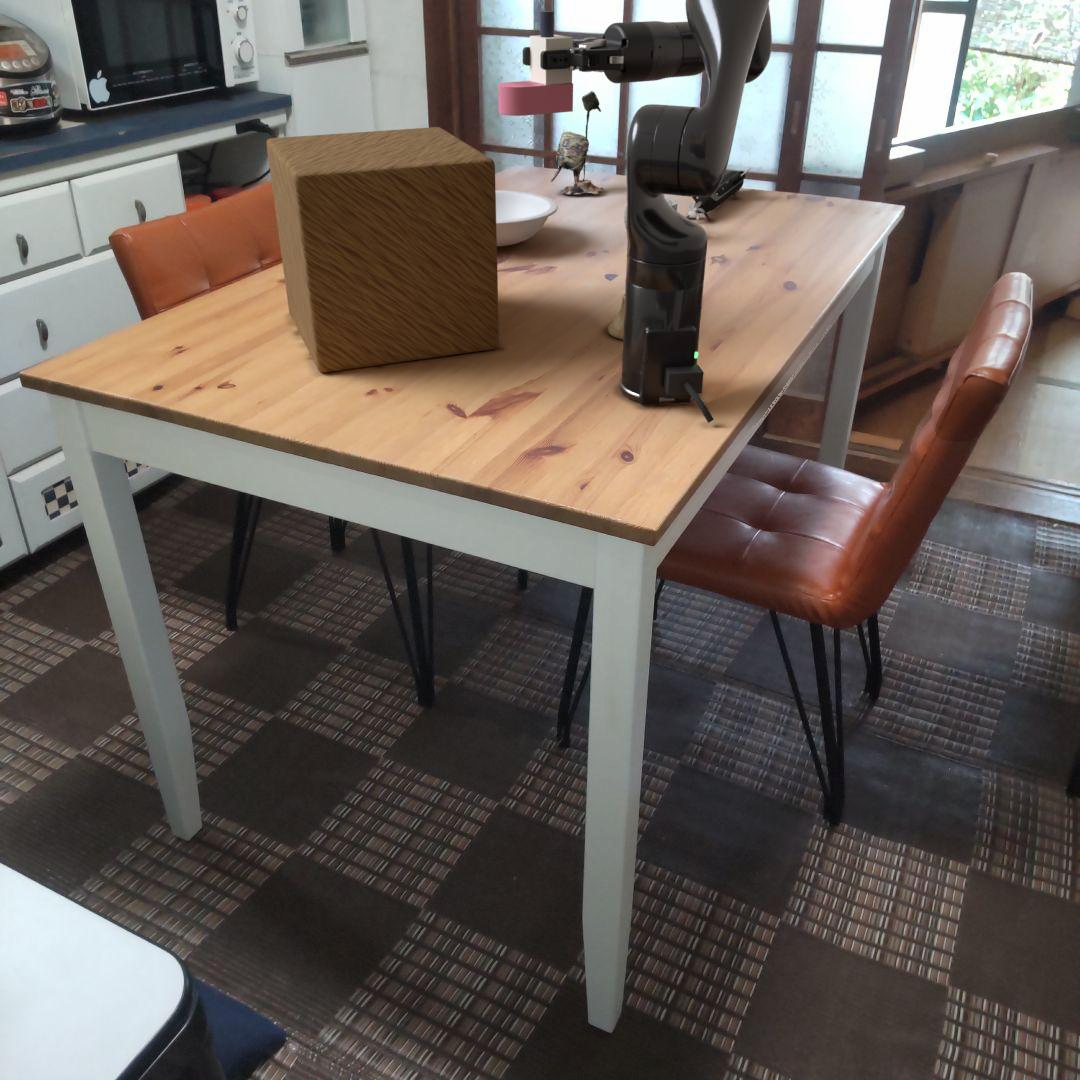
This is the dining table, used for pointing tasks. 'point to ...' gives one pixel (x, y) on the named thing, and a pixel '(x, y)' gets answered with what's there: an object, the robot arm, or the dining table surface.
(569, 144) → the bird figurine
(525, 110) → the block stack
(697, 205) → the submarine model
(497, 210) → the soup bowl
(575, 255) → the dining table surface
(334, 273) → the wood block
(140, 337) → the dining table surface
